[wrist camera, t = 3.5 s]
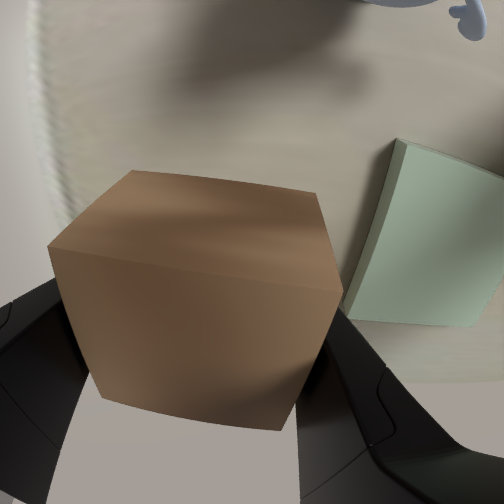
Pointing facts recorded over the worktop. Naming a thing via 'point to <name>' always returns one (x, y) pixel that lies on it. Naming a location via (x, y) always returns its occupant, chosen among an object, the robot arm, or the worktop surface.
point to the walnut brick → (199, 295)
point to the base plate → (431, 242)
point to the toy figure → (470, 15)
